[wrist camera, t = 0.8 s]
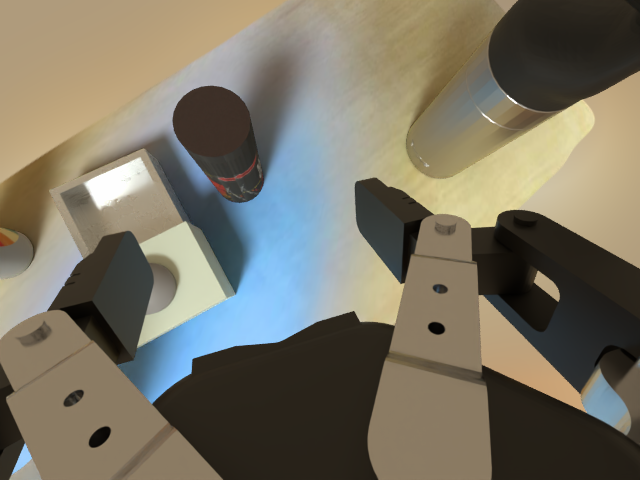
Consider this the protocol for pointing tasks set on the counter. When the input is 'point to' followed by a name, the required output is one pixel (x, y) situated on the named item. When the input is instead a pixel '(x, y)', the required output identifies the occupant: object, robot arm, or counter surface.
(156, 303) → the cream rectangular block
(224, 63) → the counter surface
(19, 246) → the lotion bottle
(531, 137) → the counter surface
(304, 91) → the counter surface
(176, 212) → the white open box
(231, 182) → the deodorant
